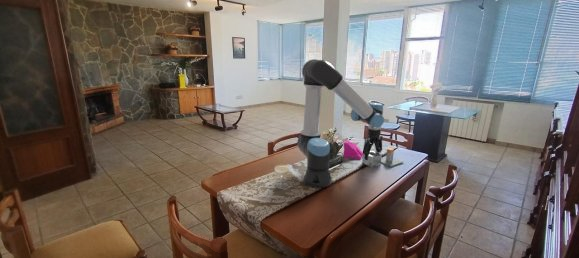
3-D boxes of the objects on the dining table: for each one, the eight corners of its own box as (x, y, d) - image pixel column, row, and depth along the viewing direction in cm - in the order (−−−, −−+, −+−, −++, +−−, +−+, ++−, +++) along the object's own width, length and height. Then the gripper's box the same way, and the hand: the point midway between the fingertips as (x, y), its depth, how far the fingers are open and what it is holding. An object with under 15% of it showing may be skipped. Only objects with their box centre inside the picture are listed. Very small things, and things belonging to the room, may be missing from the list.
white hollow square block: (371, 167, 165) (372, 156, 163) (362, 163, 172) (363, 152, 170) (380, 164, 169) (381, 154, 168) (370, 160, 176) (371, 150, 174)
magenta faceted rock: (343, 157, 182) (343, 142, 179) (345, 152, 191) (346, 138, 188) (361, 159, 178) (362, 145, 175) (363, 154, 187) (364, 140, 184)
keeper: (390, 167, 166) (392, 153, 163) (375, 160, 175) (376, 148, 173) (402, 163, 172) (404, 150, 169) (387, 157, 181) (388, 144, 179)
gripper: (367, 132, 156) (364, 168, 162) (390, 127, 166) (387, 161, 173) (357, 129, 162) (355, 164, 168) (381, 124, 173) (377, 157, 179)
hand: (371, 162), depth 170 cm, fingers closed on white hollow square block, 8 cm apart
